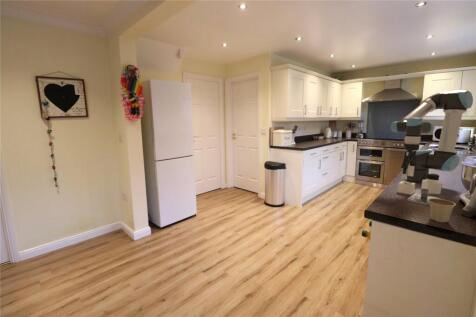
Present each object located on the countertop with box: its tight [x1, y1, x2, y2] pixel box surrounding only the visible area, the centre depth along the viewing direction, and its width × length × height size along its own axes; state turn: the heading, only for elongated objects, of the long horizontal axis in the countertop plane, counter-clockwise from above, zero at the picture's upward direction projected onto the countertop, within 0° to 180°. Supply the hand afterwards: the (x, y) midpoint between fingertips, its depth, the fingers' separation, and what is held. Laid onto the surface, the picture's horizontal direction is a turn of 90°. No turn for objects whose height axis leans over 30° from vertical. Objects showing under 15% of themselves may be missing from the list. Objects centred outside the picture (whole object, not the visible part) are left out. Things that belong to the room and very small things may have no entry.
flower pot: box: [428, 197, 457, 223], centre depth 105 cm, size 9×9×9 cm
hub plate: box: [406, 189, 442, 207], centre depth 130 cm, size 16×12×6 cm
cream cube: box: [397, 180, 416, 196], centre depth 145 cm, size 7×7×7 cm
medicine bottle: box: [420, 172, 443, 195], centre depth 145 cm, size 7×7×12 cm
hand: (407, 177), depth 144 cm, fingers open, 13 cm apart
